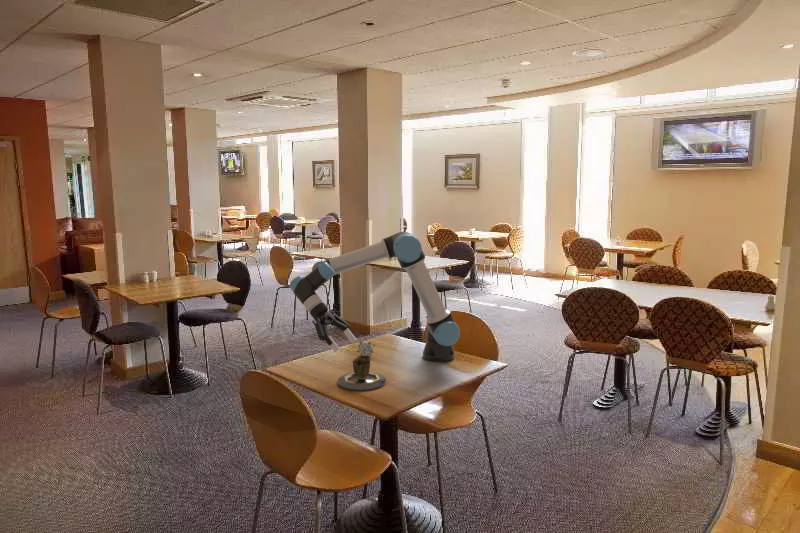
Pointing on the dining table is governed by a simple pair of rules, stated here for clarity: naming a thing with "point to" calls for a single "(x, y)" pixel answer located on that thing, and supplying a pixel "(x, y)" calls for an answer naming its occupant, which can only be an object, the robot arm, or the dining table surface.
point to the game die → (365, 348)
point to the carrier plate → (361, 382)
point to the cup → (361, 368)
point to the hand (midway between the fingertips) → (346, 345)
